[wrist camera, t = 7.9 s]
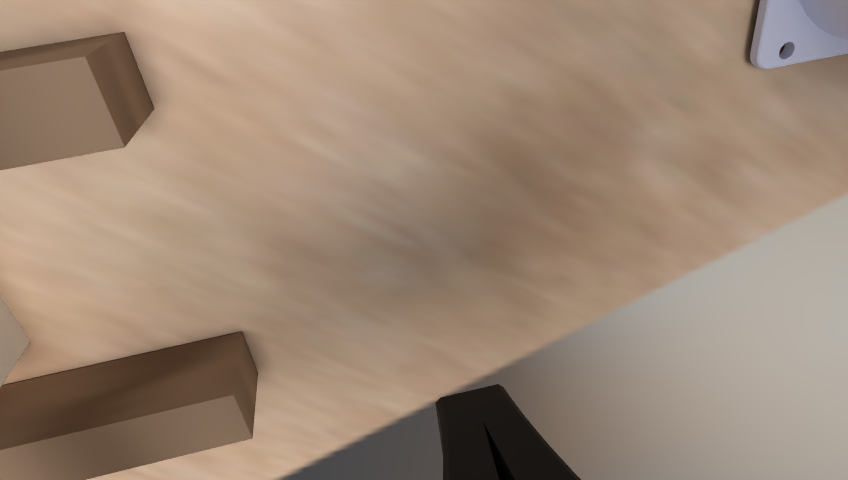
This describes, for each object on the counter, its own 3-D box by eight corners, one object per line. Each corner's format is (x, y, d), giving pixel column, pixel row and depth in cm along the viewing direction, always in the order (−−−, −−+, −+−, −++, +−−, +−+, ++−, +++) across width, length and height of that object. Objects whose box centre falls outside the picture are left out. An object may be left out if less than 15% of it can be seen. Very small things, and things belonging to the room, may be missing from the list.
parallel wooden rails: (124, 31, 14) (85, 56, 11) (257, 373, 20) (252, 438, 17) (-226, 88, 13) (-354, 129, 10) (29, 426, 19) (-12, 503, 17)
